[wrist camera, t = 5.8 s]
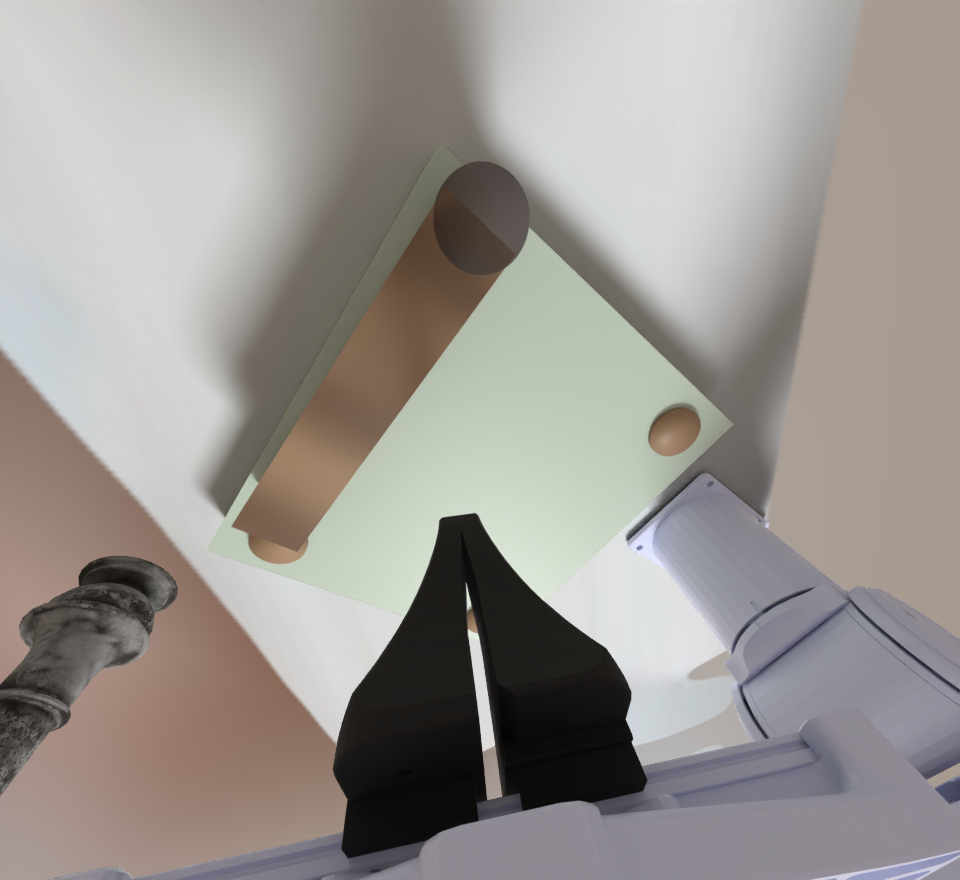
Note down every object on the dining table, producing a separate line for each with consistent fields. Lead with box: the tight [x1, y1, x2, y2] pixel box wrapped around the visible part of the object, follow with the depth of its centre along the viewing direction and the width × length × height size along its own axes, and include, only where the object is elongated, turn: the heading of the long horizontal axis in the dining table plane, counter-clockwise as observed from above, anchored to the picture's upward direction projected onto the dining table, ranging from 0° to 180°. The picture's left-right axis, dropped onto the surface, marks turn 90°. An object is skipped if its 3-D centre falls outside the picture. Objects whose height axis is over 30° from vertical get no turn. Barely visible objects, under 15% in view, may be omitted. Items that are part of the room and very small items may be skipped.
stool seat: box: [206, 142, 734, 641], centre depth 22 cm, size 21×23×3 cm
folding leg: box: [231, 162, 529, 552], centre depth 15 cm, size 18×3×3 cm, turn 141°
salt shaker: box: [0, 556, 178, 796], centre depth 18 cm, size 6×6×12 cm
